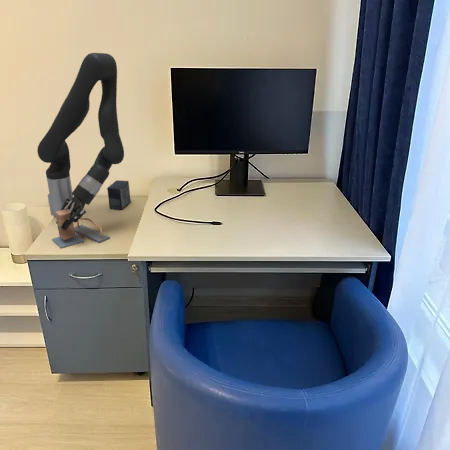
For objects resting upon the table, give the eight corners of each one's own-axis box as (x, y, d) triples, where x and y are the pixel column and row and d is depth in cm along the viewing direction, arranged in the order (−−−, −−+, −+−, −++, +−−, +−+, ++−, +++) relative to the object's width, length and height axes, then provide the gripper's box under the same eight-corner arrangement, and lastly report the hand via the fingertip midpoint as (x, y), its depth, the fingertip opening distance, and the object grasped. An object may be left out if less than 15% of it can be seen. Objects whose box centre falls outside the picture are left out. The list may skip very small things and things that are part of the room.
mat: (60, 248, 159) (60, 247, 158) (52, 239, 165) (51, 238, 165) (84, 241, 164) (84, 240, 164) (74, 233, 170) (74, 232, 170)
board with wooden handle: (99, 244, 163) (97, 226, 160) (71, 231, 173) (68, 214, 170) (110, 239, 166) (108, 222, 163) (81, 227, 176) (79, 210, 173)
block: (63, 240, 161) (59, 215, 156) (59, 235, 164) (55, 211, 160) (75, 236, 163) (71, 212, 159) (70, 232, 166) (67, 208, 162)
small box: (118, 200, 202) (115, 179, 198) (131, 201, 201) (129, 180, 197) (108, 209, 193) (106, 187, 188) (122, 210, 192) (120, 188, 187)
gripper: (72, 179, 165) (45, 216, 163) (87, 189, 155) (59, 228, 153) (87, 189, 170) (61, 225, 168) (103, 199, 160) (76, 237, 158)
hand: (60, 226), depth 160 cm, fingers closed on block, 4 cm apart
